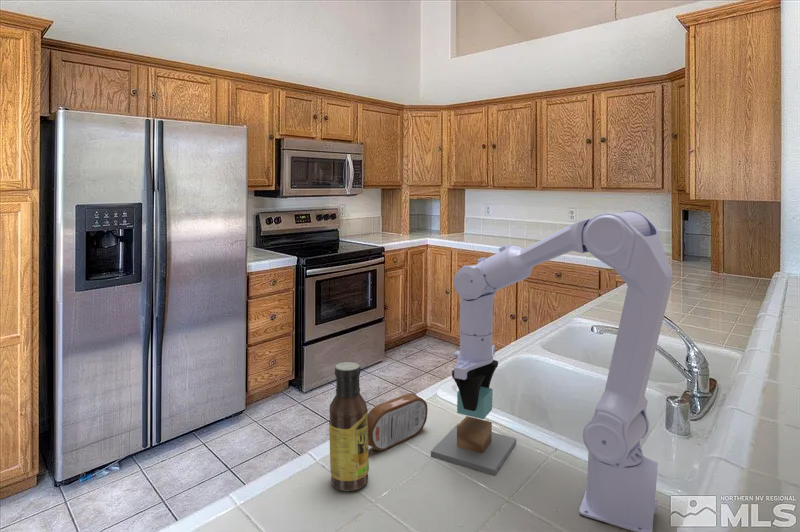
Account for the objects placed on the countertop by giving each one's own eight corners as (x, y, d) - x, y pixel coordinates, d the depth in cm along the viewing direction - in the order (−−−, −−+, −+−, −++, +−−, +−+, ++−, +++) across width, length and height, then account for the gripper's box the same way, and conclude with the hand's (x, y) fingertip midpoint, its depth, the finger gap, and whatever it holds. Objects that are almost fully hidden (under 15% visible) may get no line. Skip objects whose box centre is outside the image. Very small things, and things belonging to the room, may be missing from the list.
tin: (419, 425, 97) (419, 386, 96) (430, 431, 95) (430, 391, 93) (360, 452, 87) (359, 409, 86) (371, 459, 85) (370, 415, 84)
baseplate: (516, 443, 90) (516, 438, 90) (494, 475, 80) (494, 469, 79) (457, 428, 96) (457, 423, 96) (430, 456, 86) (430, 451, 85)
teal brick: (492, 409, 87) (492, 388, 87) (483, 419, 83) (483, 397, 83) (466, 403, 90) (467, 383, 89) (457, 413, 86) (457, 392, 85)
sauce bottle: (366, 494, 75) (363, 374, 72) (327, 493, 75) (323, 373, 72) (371, 471, 81) (369, 359, 78) (335, 470, 82) (331, 359, 79)
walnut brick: (491, 442, 88) (491, 422, 88) (482, 453, 84) (482, 432, 84) (466, 435, 91) (466, 415, 90) (456, 446, 87) (456, 425, 86)
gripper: (470, 319, 92) (469, 385, 95) (437, 339, 80) (437, 414, 82) (506, 324, 89) (504, 392, 91) (477, 345, 77) (476, 424, 79)
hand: (475, 403), depth 86 cm, fingers closed on teal brick, 4 cm apart
